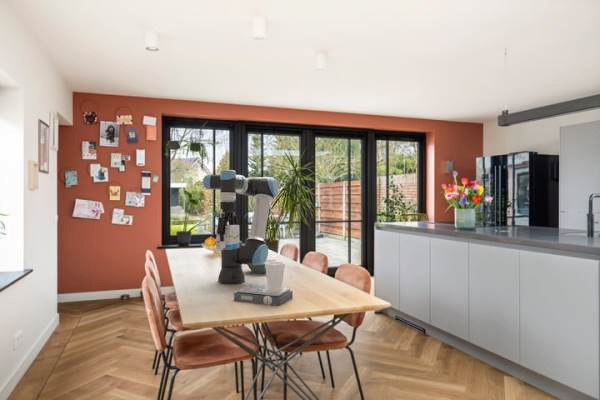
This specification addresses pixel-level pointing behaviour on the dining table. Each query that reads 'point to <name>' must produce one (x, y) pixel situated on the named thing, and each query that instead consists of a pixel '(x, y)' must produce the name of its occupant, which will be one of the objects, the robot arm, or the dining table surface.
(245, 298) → the scale
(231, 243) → the ink box
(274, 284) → the foam cup
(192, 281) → the dining table surface
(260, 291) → the plate
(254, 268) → the bowl
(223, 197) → the robot arm
